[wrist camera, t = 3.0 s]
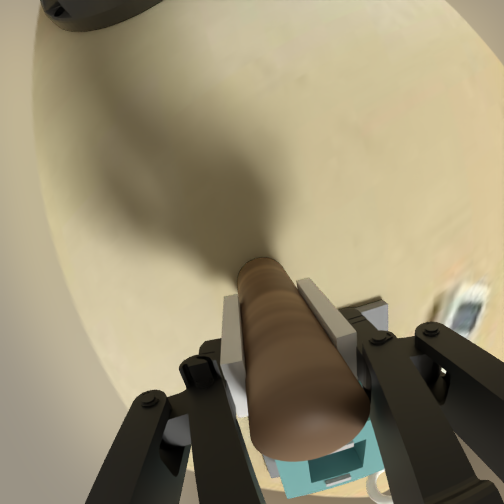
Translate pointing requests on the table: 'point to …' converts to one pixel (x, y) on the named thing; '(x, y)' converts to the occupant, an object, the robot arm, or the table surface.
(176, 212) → the table surface
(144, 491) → the robot arm
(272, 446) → the wooden rounded dowel
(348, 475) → the teal square peg holder
